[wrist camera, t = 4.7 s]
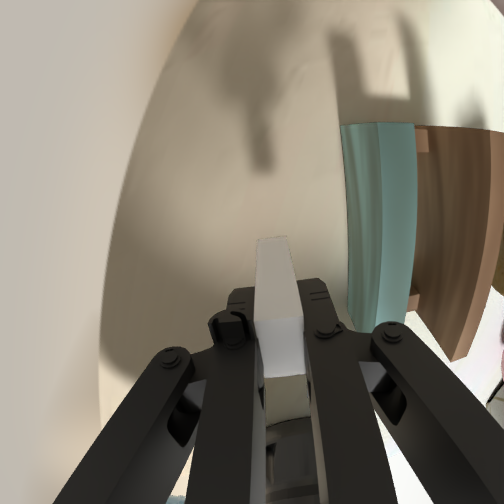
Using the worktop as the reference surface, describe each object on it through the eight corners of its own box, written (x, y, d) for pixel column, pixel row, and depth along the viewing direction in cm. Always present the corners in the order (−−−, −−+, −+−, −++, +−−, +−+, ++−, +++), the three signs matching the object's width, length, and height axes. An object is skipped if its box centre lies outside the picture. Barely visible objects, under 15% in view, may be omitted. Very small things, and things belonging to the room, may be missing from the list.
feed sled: (347, 310, 21) (378, 384, 14) (340, 125, 16) (397, 121, 8) (420, 296, 21) (466, 356, 13) (428, 126, 15) (506, 133, 8)
